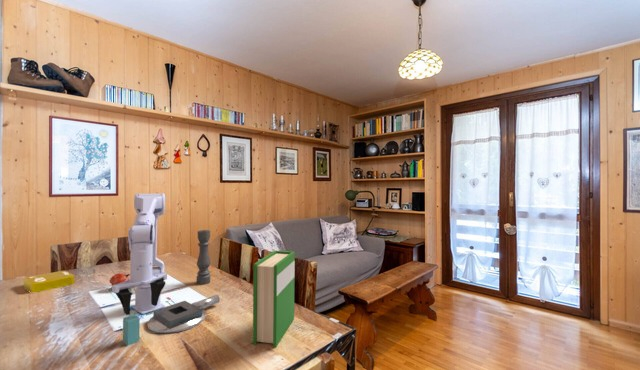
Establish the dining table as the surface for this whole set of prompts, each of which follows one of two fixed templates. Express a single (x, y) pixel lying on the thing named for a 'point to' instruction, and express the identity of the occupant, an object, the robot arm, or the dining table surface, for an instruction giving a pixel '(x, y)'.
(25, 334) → the dining table surface
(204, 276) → the candle holder
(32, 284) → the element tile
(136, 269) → the robot arm
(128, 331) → the teal rectangular prism
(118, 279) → the pomegranate
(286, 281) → the hardback book
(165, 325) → the rosette bracket
